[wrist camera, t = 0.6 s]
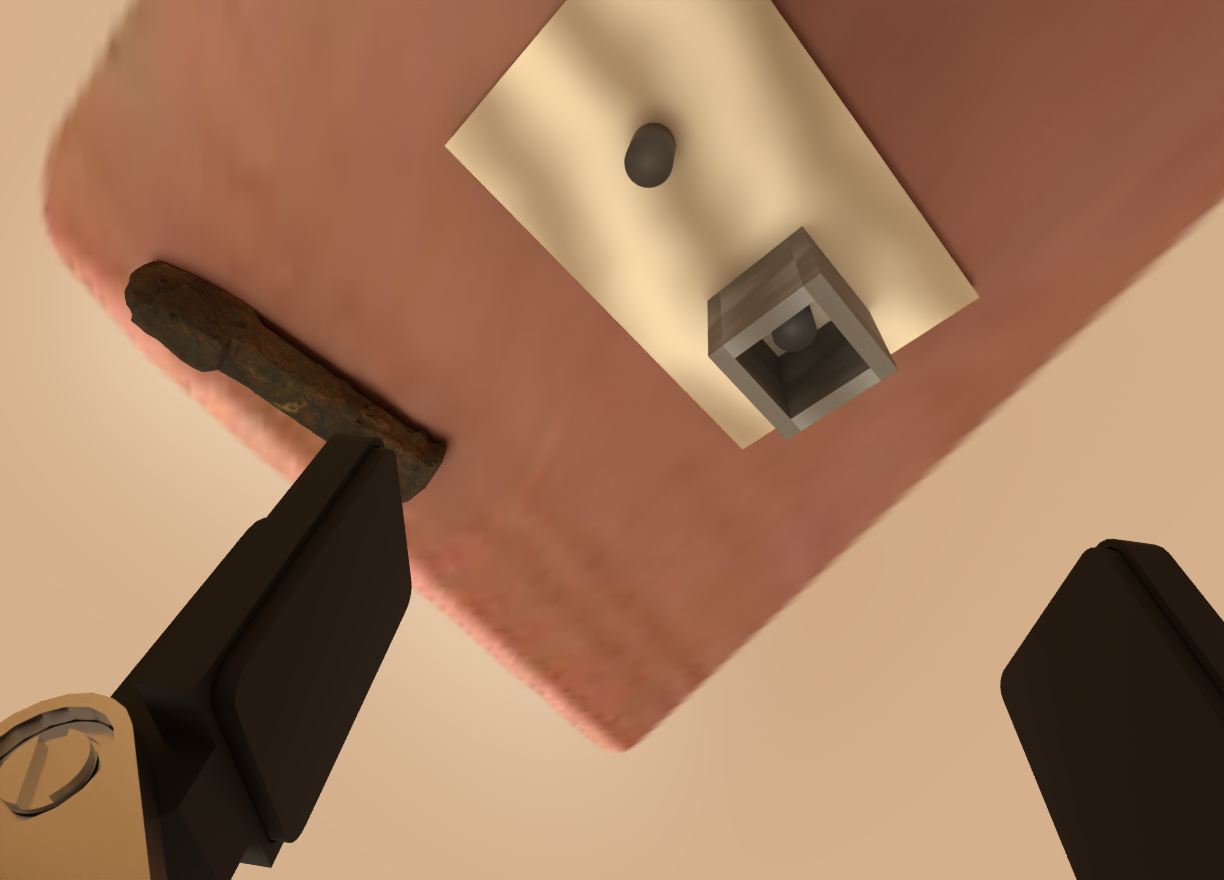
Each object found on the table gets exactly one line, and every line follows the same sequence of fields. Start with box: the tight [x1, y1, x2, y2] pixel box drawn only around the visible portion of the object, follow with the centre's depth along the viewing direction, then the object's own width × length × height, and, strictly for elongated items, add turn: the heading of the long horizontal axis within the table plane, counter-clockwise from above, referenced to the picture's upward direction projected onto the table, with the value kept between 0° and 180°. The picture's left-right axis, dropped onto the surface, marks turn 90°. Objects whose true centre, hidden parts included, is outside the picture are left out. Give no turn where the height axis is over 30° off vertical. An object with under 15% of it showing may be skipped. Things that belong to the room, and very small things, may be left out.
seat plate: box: [445, 0, 979, 449], centre depth 30 cm, size 14×22×7 cm, turn 44°
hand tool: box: [125, 261, 446, 503], centre depth 39 cm, size 19×4×5 cm, turn 46°
